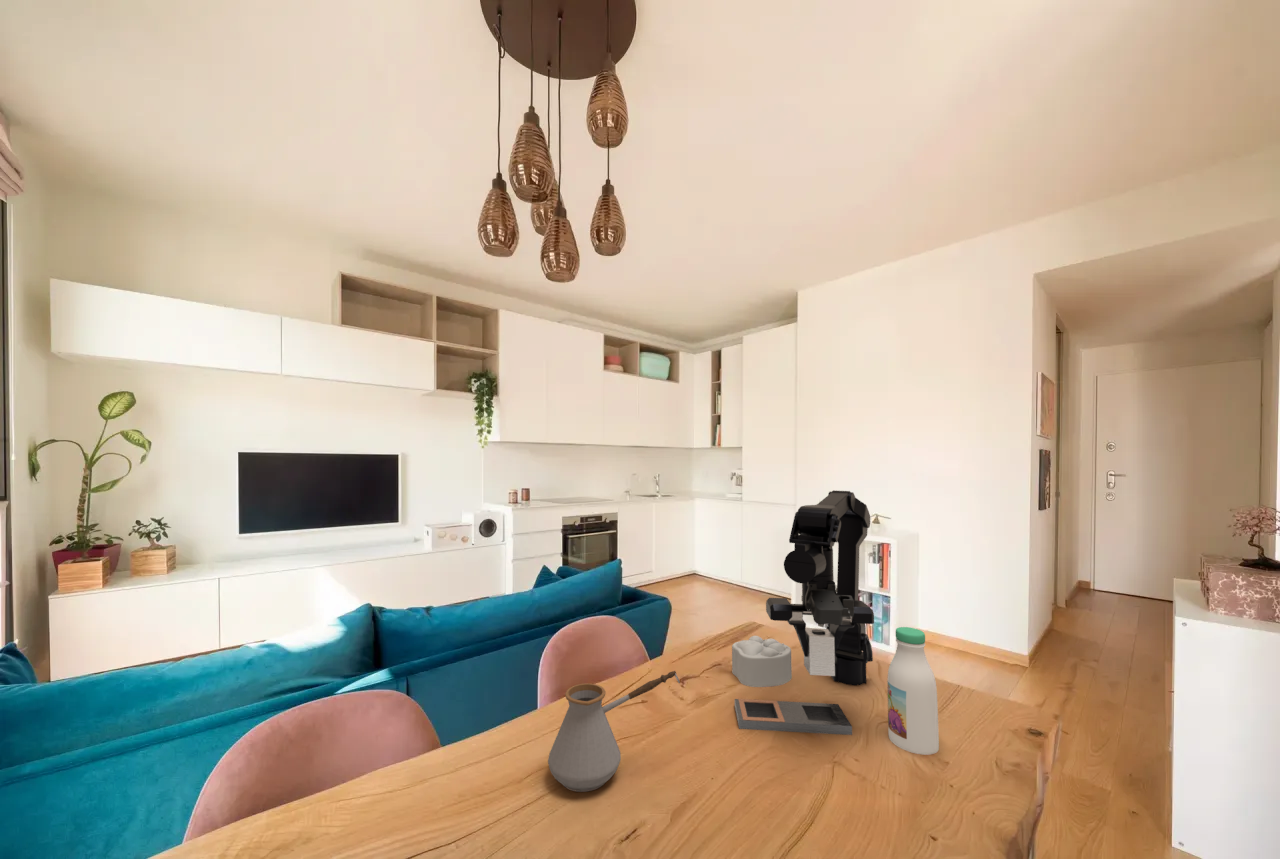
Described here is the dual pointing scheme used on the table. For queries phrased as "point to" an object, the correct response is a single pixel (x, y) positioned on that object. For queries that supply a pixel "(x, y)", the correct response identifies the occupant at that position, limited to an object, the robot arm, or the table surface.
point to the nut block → (820, 652)
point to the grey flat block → (791, 716)
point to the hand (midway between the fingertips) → (818, 656)
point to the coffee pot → (589, 737)
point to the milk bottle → (912, 695)
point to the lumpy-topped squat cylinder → (761, 662)
